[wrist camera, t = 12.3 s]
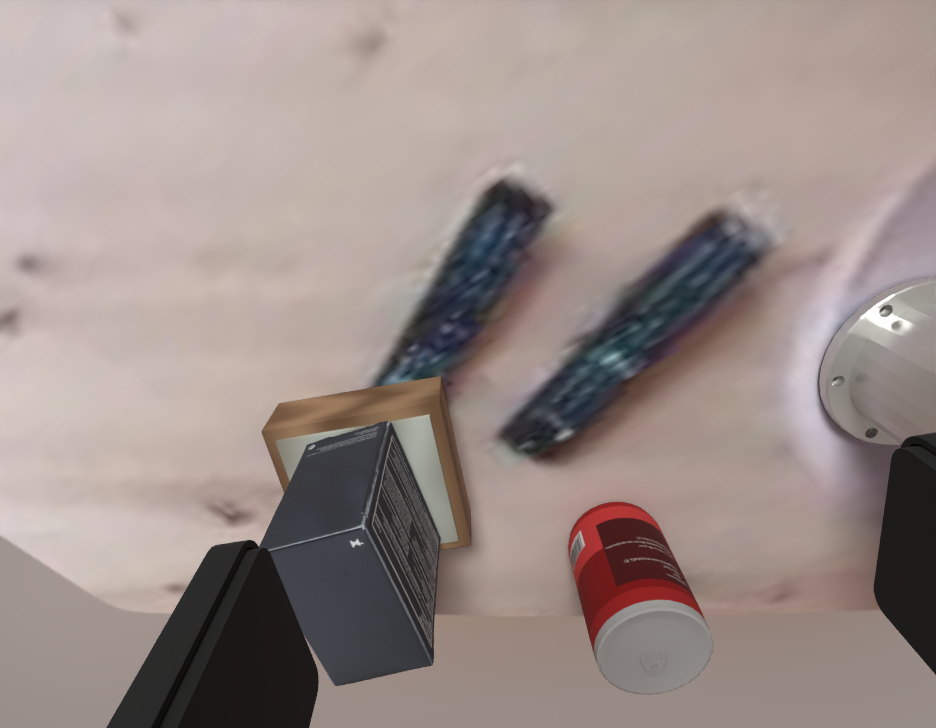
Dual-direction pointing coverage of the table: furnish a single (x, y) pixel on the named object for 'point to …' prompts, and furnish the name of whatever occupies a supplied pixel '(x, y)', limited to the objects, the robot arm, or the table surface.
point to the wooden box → (417, 427)
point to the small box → (358, 555)
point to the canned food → (636, 601)
